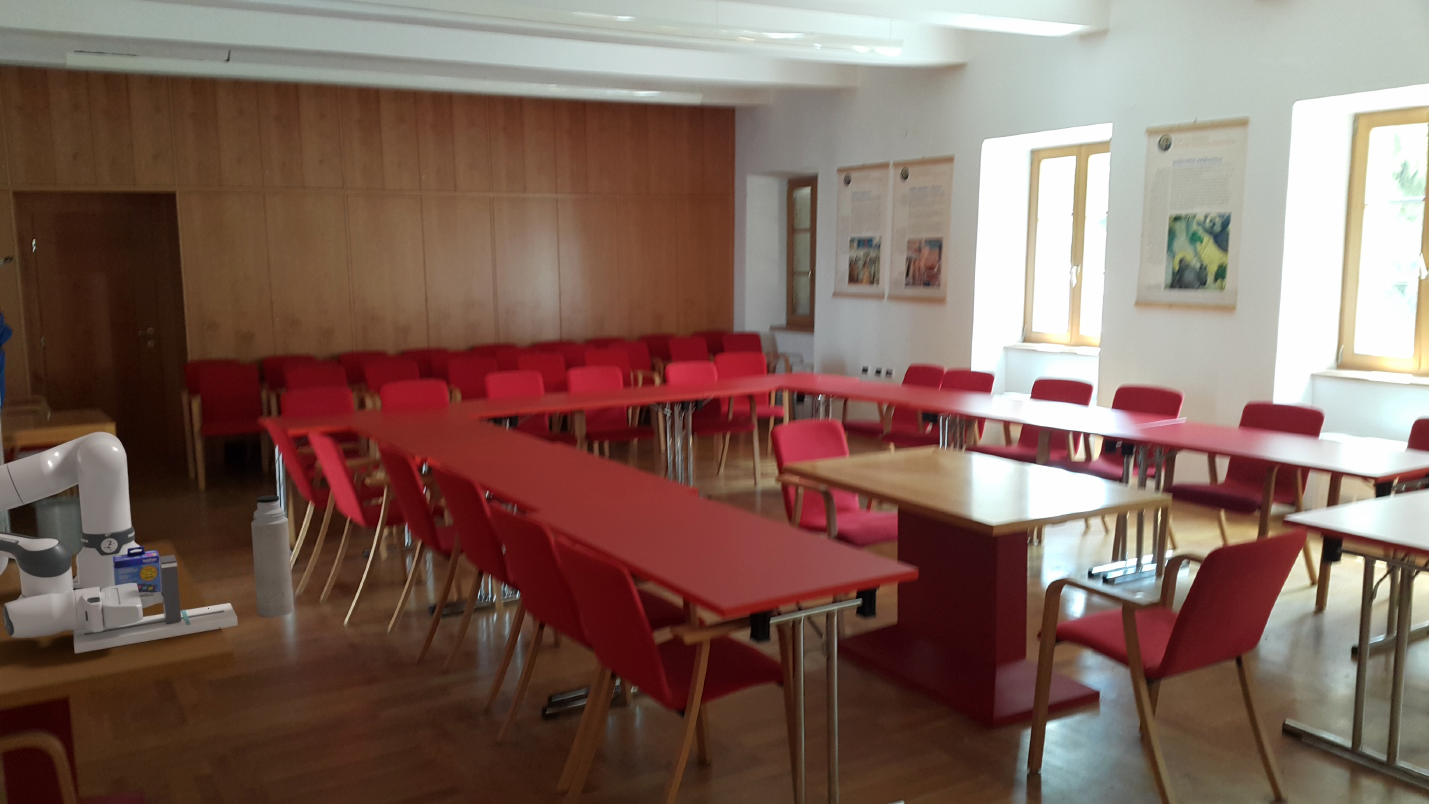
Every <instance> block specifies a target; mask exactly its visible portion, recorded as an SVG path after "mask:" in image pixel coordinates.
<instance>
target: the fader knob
mask: <svg viewBox="0 0 1429 804" xmlns="http://www.w3.org/2000/svg"><path fill="white" fill-rule="evenodd" d="M159 563H160V578H161V592H162V593H163V596H164V602H163V603H162V605H163V614H164V617H165V621H166V624H167V623H173V622H179V621H181V602H180V601H181V600H180V589H179V588H180V587H179V576H178V561H177V559H176V556H175V554H170V555H163V556H159Z"/></svg>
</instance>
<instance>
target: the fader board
mask: <svg viewBox="0 0 1429 804" xmlns="http://www.w3.org/2000/svg"><path fill="white" fill-rule="evenodd" d="M208 608H209V609H208ZM180 611H181V621H179V622H173V623H167V624H166V621H165V617H164V613H160V614H155V615H146V616H143V619H142V620H140V621H138V622H135V623H131V624H126V625H122V626H117V627H111V628H106V627H104V630H103V631H101V632H91V631H90V630H78V631H72V633H73V647H74V654H81V653H85V652H92V651H97V650H103V649H108V648H109V649H110V648H114V647H120V646H121V647H122V646H125V645H132V644H138V643H142V642H150V641H156V640H160V639H161V640H162V639H166V638H173V637H177V636H183V635H184V636H185V635H189V634H190V635H191V634H194V633H195V634H196V633H201V632H207V631H214V630H219V629H225V628H230V627H236V626H238V625H239V624H238V623H239V622H238V616H237V614H236V612H235V610H234V608H233V606H232V603H230V602H227V603H221V604H215V605H209V606H203V607H202V606H201V607H197V608H191V609H182V610H181V609H180ZM219 627H220V628H219Z"/></svg>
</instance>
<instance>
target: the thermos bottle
mask: <svg viewBox="0 0 1429 804" xmlns="http://www.w3.org/2000/svg"><path fill="white" fill-rule="evenodd" d="M279 500H280V496H279V495H272V494H271V495H263V496H258V497H257V498H256V503H257V504H256V506H257V509H256V510H255V511H254V512H253V520H252V521H251V522H250V523H251V524H250V526H251V538H252V540H251V541H252V550H253V551H252V553H253V568H254V577H255V579H254V580H255V594H256V595H255V596H256V609H257V611H256V612H257V616H258V617H260V618H268V619H269V618H270V619H272V618H279V617H284V616H288V615H289V614H292V613H293V612H294V610H295V606H294V593H293V577H292V565H291V546H290V530H289V519H288V517H286V516H285V514H286V513H285V509H284V508H283V507H281V505H280V504H281V503H280V501H279Z"/></svg>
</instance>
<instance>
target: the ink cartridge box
mask: <svg viewBox="0 0 1429 804" xmlns="http://www.w3.org/2000/svg"><path fill="white" fill-rule="evenodd" d="M136 549H140V550H142V551H137V552H130V551H132V550H136ZM159 557H160V555H159V552H158V550H147V551H145V546H144V545H143V546H140V547H134V548H128V551H127V554H124V555H118V556H113V569H114V581H115V585H121V584H126V583H136V584H137V587H138V591H139V593H143V592H150V593H156V592H162V584H161V572H160V562H159Z"/></svg>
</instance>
